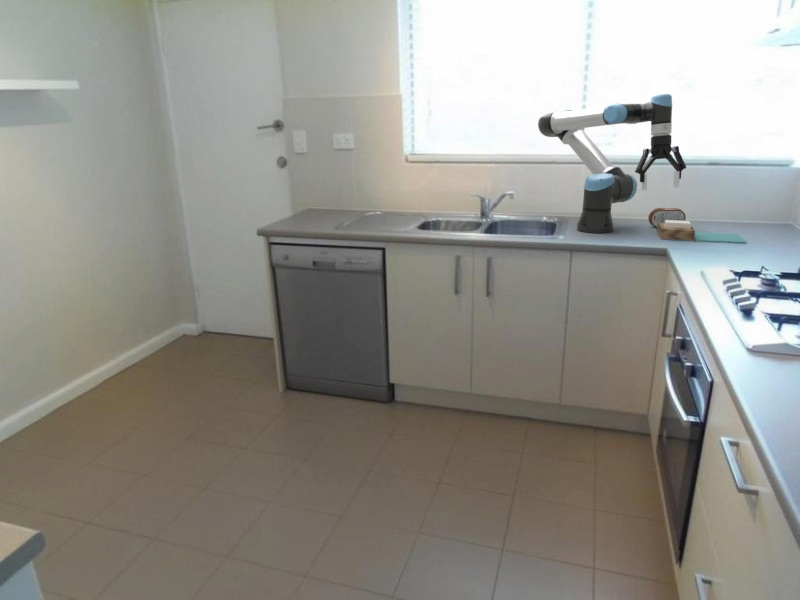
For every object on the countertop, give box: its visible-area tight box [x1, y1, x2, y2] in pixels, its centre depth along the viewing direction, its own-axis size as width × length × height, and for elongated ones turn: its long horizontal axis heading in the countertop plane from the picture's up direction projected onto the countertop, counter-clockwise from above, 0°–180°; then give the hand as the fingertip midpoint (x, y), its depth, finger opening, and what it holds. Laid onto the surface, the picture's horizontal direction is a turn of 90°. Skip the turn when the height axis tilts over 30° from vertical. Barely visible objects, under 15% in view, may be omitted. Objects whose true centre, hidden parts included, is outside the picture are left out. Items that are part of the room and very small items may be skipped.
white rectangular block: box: [664, 220, 692, 229], centre depth 233 cm, size 9×6×2 cm, turn 73°
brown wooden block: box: [656, 223, 696, 241], centre depth 234 cm, size 12×14×4 cm
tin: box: [648, 207, 687, 228], centre depth 251 cm, size 15×3×8 cm, turn 84°
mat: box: [694, 231, 748, 244], centre depth 230 cm, size 18×16×1 cm
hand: (660, 188), depth 234 cm, fingers open, 13 cm apart
